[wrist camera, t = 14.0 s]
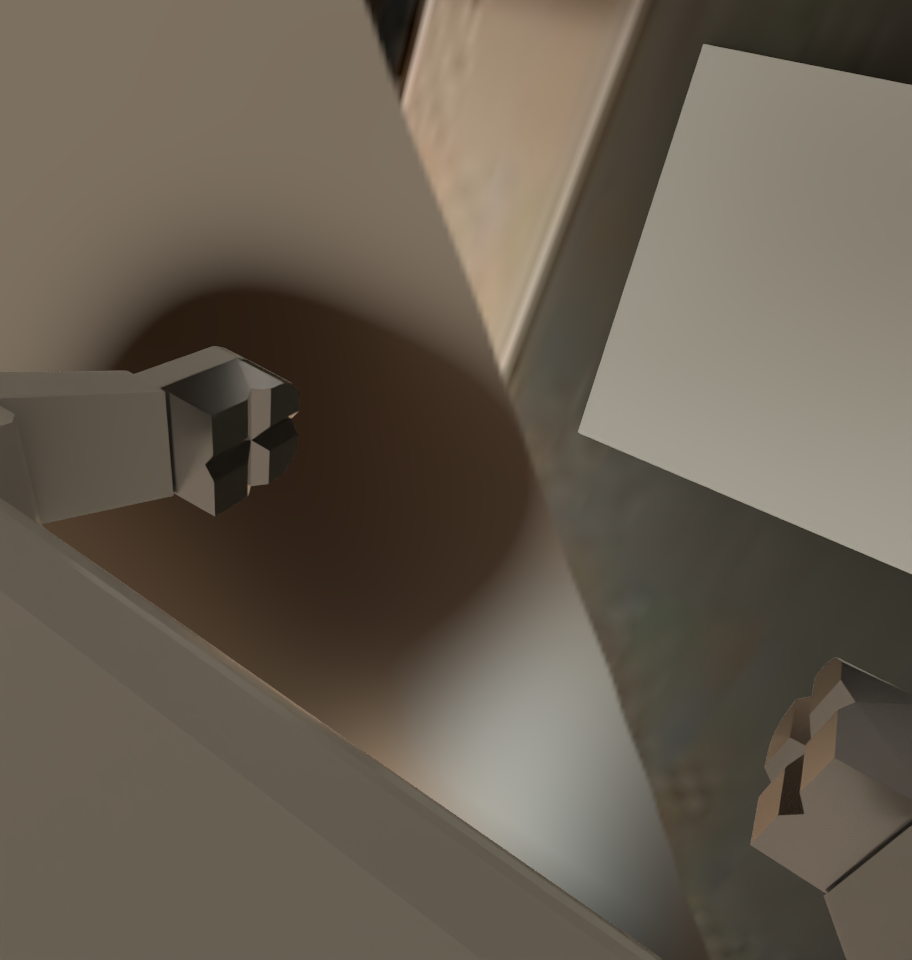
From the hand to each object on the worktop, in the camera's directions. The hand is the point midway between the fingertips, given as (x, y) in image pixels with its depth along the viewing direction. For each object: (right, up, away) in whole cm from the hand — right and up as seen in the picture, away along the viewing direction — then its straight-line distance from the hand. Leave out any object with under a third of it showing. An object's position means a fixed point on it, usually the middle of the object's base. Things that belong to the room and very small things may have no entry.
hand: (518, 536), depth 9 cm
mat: (+17, +8, +22) cm, 29 cm away
